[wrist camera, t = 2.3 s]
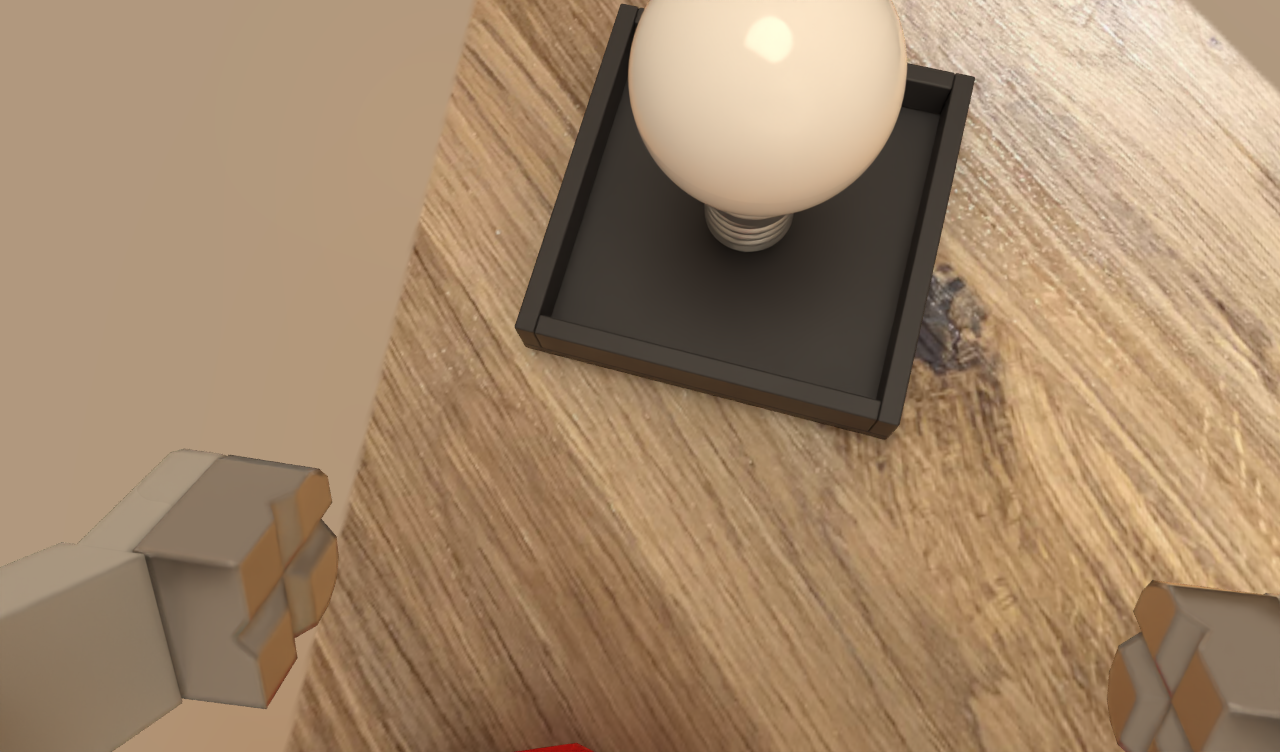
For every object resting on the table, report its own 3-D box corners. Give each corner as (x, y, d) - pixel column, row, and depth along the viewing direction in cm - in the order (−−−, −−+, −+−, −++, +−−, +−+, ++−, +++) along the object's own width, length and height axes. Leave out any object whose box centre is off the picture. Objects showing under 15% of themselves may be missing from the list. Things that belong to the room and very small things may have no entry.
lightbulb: (771, 357, 29) (816, 190, 18) (604, 241, 30) (554, 22, 19) (891, 199, 30) (999, -46, 19) (724, 94, 31) (739, -190, 20)
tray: (524, 347, 30) (513, 327, 28) (624, 38, 32) (620, 2, 30) (886, 440, 28) (899, 426, 26) (959, 109, 31) (975, 76, 29)
